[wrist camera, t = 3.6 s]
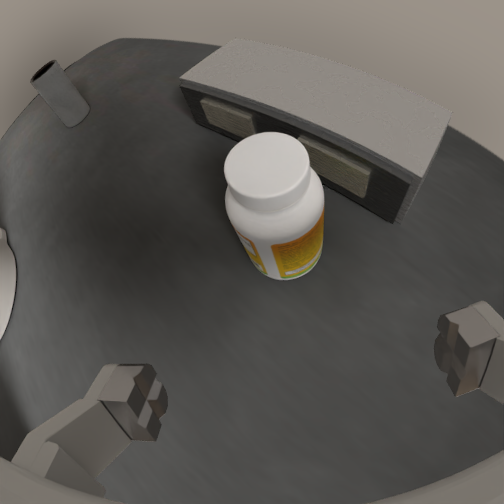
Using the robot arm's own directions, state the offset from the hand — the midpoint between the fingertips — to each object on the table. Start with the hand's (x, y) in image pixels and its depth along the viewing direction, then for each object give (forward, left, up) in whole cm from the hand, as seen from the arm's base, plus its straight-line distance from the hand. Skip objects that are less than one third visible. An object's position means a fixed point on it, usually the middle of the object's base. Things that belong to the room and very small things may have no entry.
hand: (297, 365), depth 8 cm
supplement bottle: (-1, +9, -12) cm, 15 cm away
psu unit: (+3, +20, -12) cm, 23 cm away
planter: (-28, +34, -12) cm, 46 cm away
